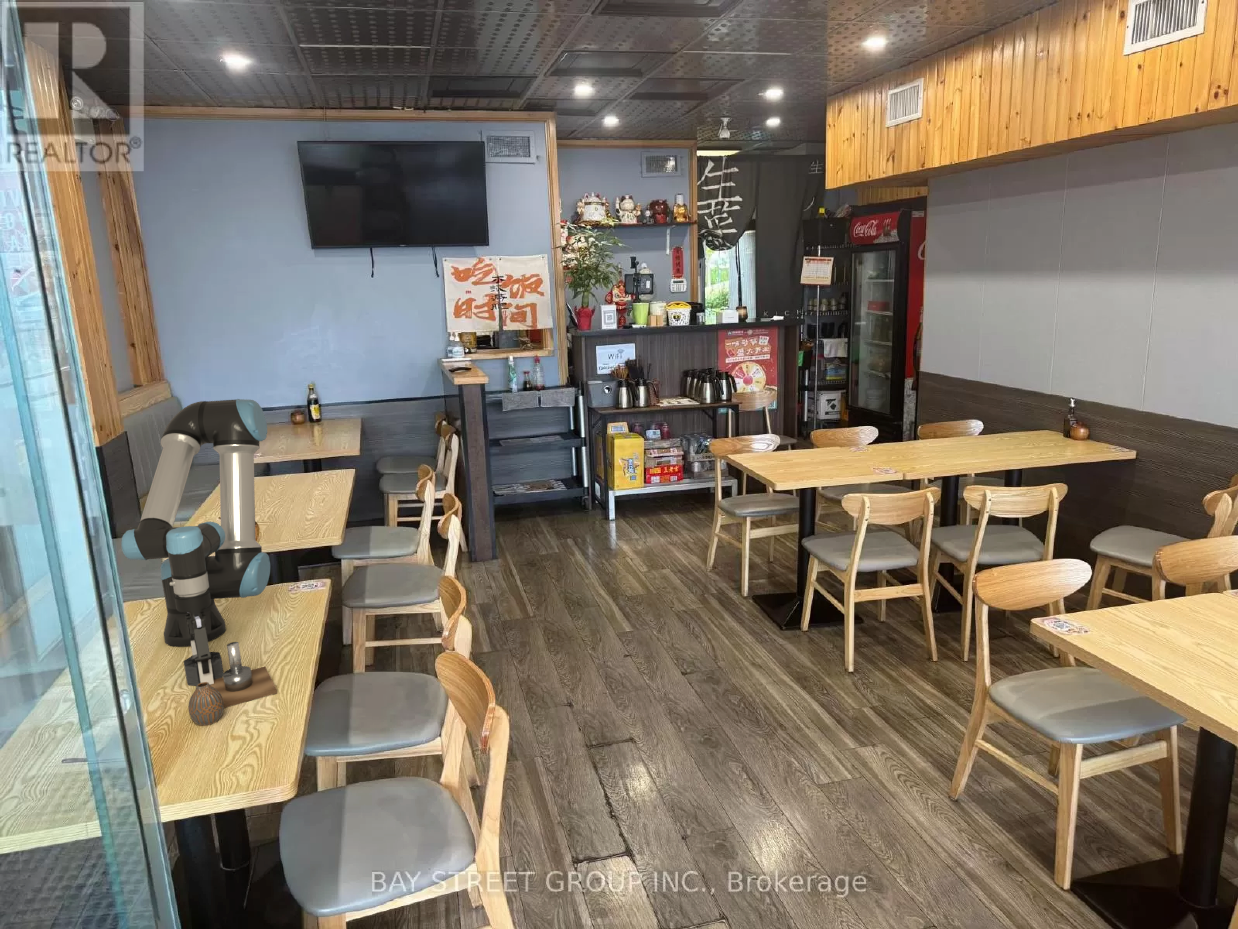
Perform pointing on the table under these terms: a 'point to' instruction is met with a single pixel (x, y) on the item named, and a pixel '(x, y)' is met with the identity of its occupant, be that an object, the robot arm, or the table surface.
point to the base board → (257, 690)
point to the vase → (205, 704)
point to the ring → (193, 670)
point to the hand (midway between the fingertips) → (203, 674)
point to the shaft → (236, 671)
